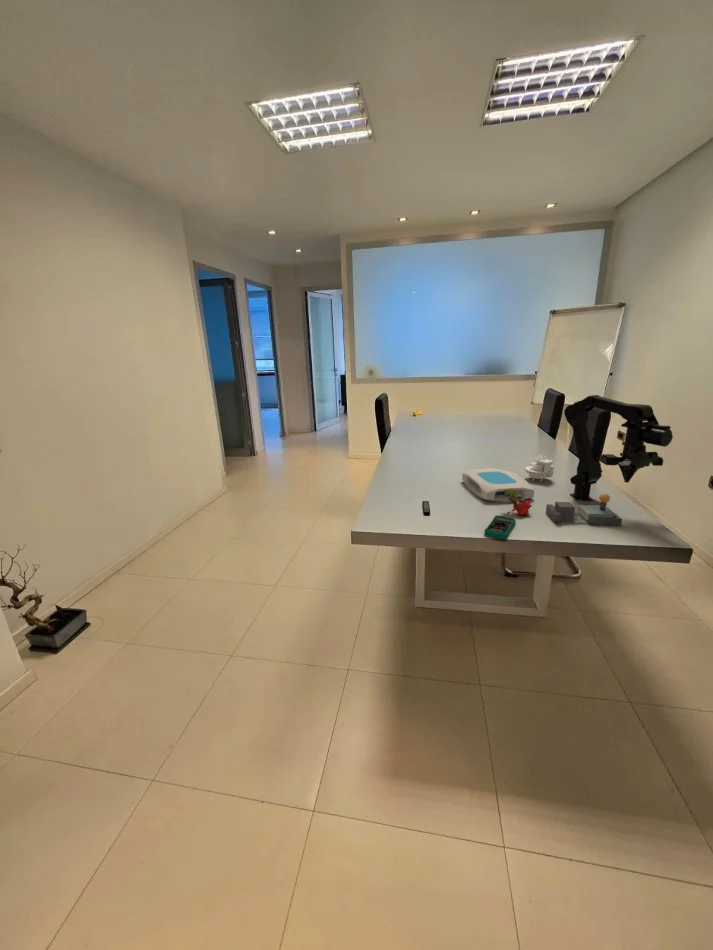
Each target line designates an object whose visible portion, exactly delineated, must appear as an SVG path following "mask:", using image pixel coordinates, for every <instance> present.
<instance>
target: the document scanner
mask: <svg viewBox="0 0 713 950" xmlns="http://www.w3.org/2000/svg"><path fill="white" fill-rule="evenodd" d="M461 476H462V477H461V478H462V482H463V483H464V484H465V486H466V488H468V489H469V490H470V491H471V492H472V493H473V494H474V495H476V496H477V497H478V498H480V499H482V500H486V501H490V502H495V503H507V502H508V501H510V500H509V499H508V498H507V497H506V496H505V494H497V495H496V493H497V492H498V493H499V492H504V490H506V489H508V488H510V489H512V490H514V492H515V491H517V492H520V494H521V495H522V496H523V497H524V501H526V500H529V499H532V498H534V495H535V488H533V486H532V485H531V484H530V483H529V482H527V480H526V479H524V478H522V477H521V476H519V474H516V473H515V472H512V471H508V470H504V469H499V468H491V467H489V468H478V469H477V468H474V469H471V470H467V471H464V472H462V475H461ZM515 493H516V492H515ZM508 503H509V502H508Z"/></svg>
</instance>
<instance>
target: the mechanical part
mask: <svg viewBox="0 0 713 950" xmlns="http://www.w3.org/2000/svg"><path fill="white" fill-rule="evenodd" d="M529 464H530V465H529V466H526V467H525V472H526V473H527V474H528V477H529V479H530V480H531V479H532V482H534V481H535V479H540V481H539V482H541V483H542V481H543V480H544V479H545V478H552V477H553V475H554V469H555V467H554V465H553V464H554V460H552V459H547V456H546V455H542V454H538V455H537V456H536V457H535V458H534V461H532V462H530V463H529Z"/></svg>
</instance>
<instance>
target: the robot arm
mask: <svg viewBox="0 0 713 950" xmlns="http://www.w3.org/2000/svg"><path fill="white" fill-rule="evenodd" d="M595 408H597V409H600V410H603V411H606V412H610V413H614V414H617V415H619V416H620V417H621V418H622V419H624V420H626V421H625V422H624V423H622V424H621V425H620V426H621V427H622V428H626V432H625V436H624V441H622V442H621V446H623V447H622V452H620V454H619V456H616V455H614V454H612V453H609V454H607V453H606V454H605V453H604V454H603V453H602V454H601V455H600V456H599V460H598V462H597V461H595V459H594V457H593V451H592V446H591V442H590V437H589V433H588V427H587V423H588V420H589V417H590V416H589V413H590V412H591V411H593V410H594V409H595ZM563 413H564V416H565V419H566V422H567V423H568V424H569V425H570V426H571V427H572V433H573V438H574V443H575V447H576V452H577V457H578V465H577V467H576V474H575V475H573V476H572V477H570V484H572V485H574V489H573V493H570V494H569V496H571V497H572V498H573V499H575V500H576V501H593V500H594V499H593V497H591V495H590V494H591V489H592V488H591V487H592V485H593V484H597V482H598V481H599V480H600V478H602V476H603V475H602V473H604V471H603V469H602V466H601V463H602V464H604V465H605V466H618V467H619V469H620V472H621V474H622V477H623V481H624V483H627V484H628V483H629V482H630V481H631V480H632V478H633V476H634V475H635V474H636V473H637V471H638V470H640V469H643V468H645V467H649V466H650V464H651V465H652V466H655V467H657V466H659V467H660V466H663V464H664V459H663V457H662V456H660V455H659V453H658V451H647V445H649V444H650V445H653V446H659V447H664V448H665V447H668V446H669V445H670V444H671V442H672V440H673V438H674V436H673V432H672V430H671V426H670V425H661V424H660V423H659V421H658V419H657V416H656V415H655V414H654V409H653V407H652V406H651V405H650V404H640V403H625V402H622V401H619V400H614V399H611V398H607V397H604V396H600V395H599V394H595V395H594V394H592V395H591V394H590V395H588V396H586V397H584V398H582V399H581V400H579V401H576V402H575V403H573V404H569V405H567V406H566V408H565V409H564V412H563ZM646 444H647V445H646Z"/></svg>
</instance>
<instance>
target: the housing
mask: <svg viewBox="0 0 713 950" xmlns="http://www.w3.org/2000/svg"><path fill="white" fill-rule="evenodd" d="M554 503H555V504H554V507H555V508H556V509H557V510H558V511H559V512H560V513H561V514H562V520H573V518H574V513H576V507H575V506H574V505H573V504H572V502H570V501H555V502H554Z"/></svg>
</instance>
